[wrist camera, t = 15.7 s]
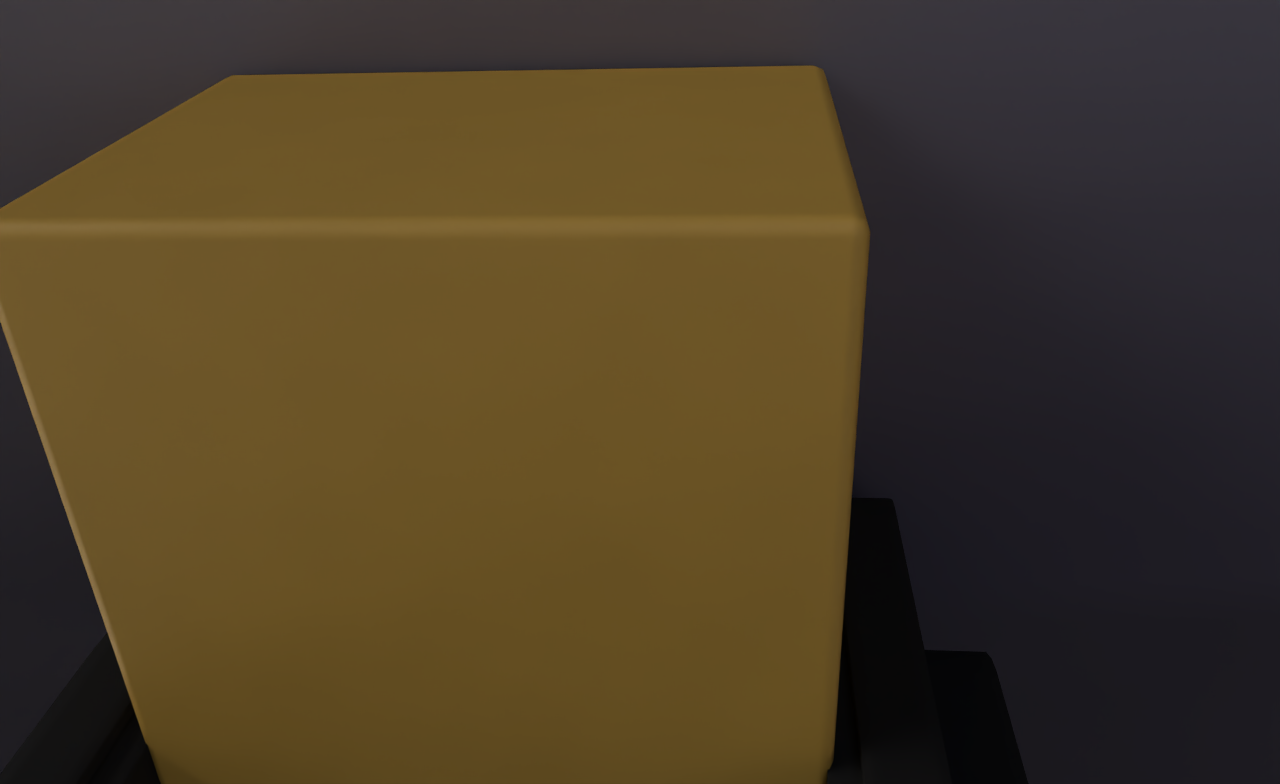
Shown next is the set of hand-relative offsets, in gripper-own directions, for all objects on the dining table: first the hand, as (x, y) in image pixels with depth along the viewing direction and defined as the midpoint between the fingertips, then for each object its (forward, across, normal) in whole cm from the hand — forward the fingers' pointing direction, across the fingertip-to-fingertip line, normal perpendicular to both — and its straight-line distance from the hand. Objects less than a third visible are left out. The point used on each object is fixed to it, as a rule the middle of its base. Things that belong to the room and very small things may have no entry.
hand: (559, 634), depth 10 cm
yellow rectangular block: (0, 0, 0) cm, 0 cm away
